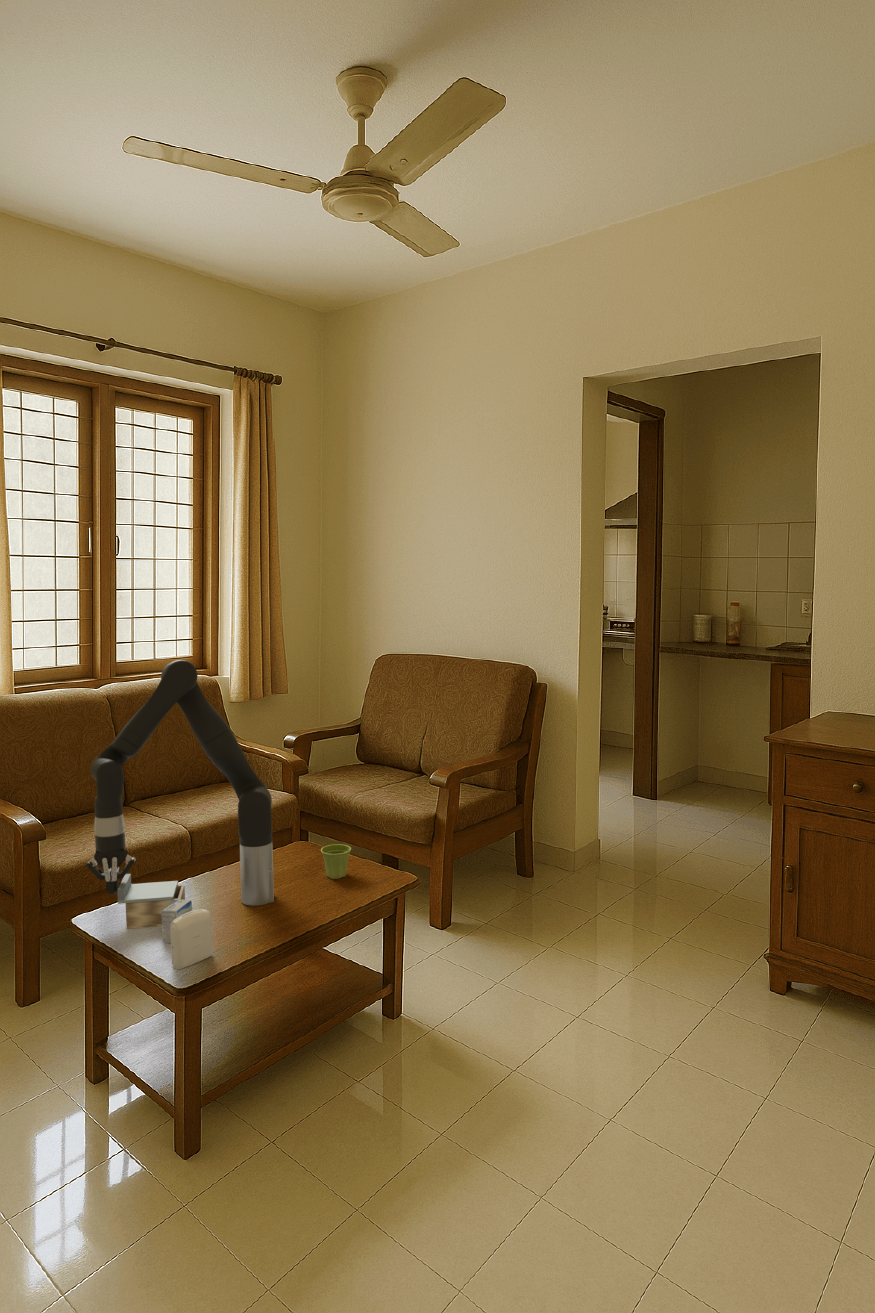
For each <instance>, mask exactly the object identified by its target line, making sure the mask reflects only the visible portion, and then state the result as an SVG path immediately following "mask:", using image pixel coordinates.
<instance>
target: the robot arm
mask: <svg viewBox="0 0 875 1313" xmlns="http://www.w3.org/2000/svg"><path fill="white" fill-rule="evenodd" d="M160 675H161V676H160V679H161V680H160V681H159V682H158V685H157V686H156V688H155V689H154V692H153V693H152V694H151V696H150V697H149V698H148V699H147V701H146V702H145V703H144V704H143V705H142V706H141V707H140V708H139V709H138V711H137V712H136V713H135V714H134V715H133V716H132V717H131V718H130V719H129V721H127V723H126V724H125V725H124V727H123V728H122V729H121V731H120V732H119V733H118V735H116V737H115V739H114V740H113V741H112V742H111V743H110V744H109V745H108V746H106V747H105V749H103V750H102V751H101V753H99V755H98V756H97V757H95V760H94V761H93V762H92V764H91V766H90V775H91V776H92V779H94V781H96V796H95V797H94V822H93V823H94V828H93V832H94V845H95V853H94V855H93V857H92V858H91V859H89V860H88V861H87V863H86V864H85V866H86V868H87V869H89V871H90V872H91V873H92V874H93V875H94V877H96V878H97V879H98V880H99V881H105V884H106V892H107V894H109V895H117V894H116V893H117V890H118V888H119V886H120V884H119V880H121V879H123V878H124V876H125V874H128V872H129V871H130V869H131V868H132V866H133V865H134V864H135V862H136V860H137V857H135V856H131V855H130V854H129V853H128V850H127V849H126V848H127V846H126V830H125V817H124V808H123V807H124V805H123V791H124V781H125V776H124V775H125V774H124V769H123V765H125V763H126V762H127V761H128V760H129V759H130V758H134V757H135V756H136V755H137V754H138V753H139V752H140V750H141V749H142V748H143V747H144V745H145V744H146V743H147V742H148V740H149V739H150V737H151V736H152V735H153V733H154V732H155V730H156V729H157V727H158V726H159V725H160V723H161V722H162V720H163V719H164V717H166V715H167V714H168V713H169V712H170V710H171V709H172V708H173V707H174V706H175V705H176V704H177V705H178V707H179V708H180V710H181V711H182V712H183V714H184V716H185V718H186V720H187V722H188V724H189V726H190V728H191V731H192V732H193V734H194V735H195V738H196V740H197V742H198V743H199V745H200V747H201V748H202V750H203V751H204V753H205V754H206V756H207V757H208V759H209V760H210V762H212V764H213V765H214V766H215V767H216V768H217V769H218V770H219V771H220V772H221V773H222V774H223V775H224V776H225V778H226V779H227V780H228V782H229V783H230V784H231V786H232V788H233V790H234V792H235V795H236V796H237V799H238V804H237V818H238V819H237V822H238V823H237V824H238V826H237V827H238V838H239V864H240V867H239V868H240V870H239V871H240V897H241V898H240V899H241V901H240V902H241V903H242V904H244V905H246V906H252V907H253V906H255V907H256V906H262V905H263V906H264V905H267V904H270V903H274V902H275V894H274V888H275V887H274V860H273V859H274V858H273V856H274V855H273V854H274V853H273V827H272V826H273V825H272V795H271V792H270V791H269V790H268V788H267V787H266V786H265V784H264V783H263V782H262V780H261V779H260V778H259V776H258V775H257V774H256V772H255V771H254V770H253V768H252V767H251V765H250V764H249V762H248V759H247V757H246V755H245V753H244V751H243V749H242V747H241V745H240V743H239V742H238V740H237V737H236V736H235V735H234V732H233V731H232V730H231V728H230V726H229V725H228V723H227V722H226V721H225V720H224V718H223V717H222V716H221V714H220V713H219V712H218V711H217V710H216V709H215V708H214V707H213V705H212V704H210V702H209V701H208V699H207V698H206V697H205V695H204V693H203V690H202V689H201V687H200V685H199V683H198V671H197V668H196V666H194V664H193V663H191V662H190V661H188V660H184V659H178V660H177V659H176V660H173V661H172V662H169V663H168V664H165V666H164V667H163V669H162V671H161V674H160ZM124 862H125V864H126V865H125V866H124V868H123V869H122V870H121V871H119V870H120V867H121V865H122V864H123V863H124ZM98 865H99V866H98ZM100 867H101V868H102V869H103V870H102V869H101V868H100Z"/></svg>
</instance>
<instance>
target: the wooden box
mask: <svg viewBox="0 0 875 1313" xmlns="http://www.w3.org/2000/svg"><path fill="white" fill-rule="evenodd" d="M185 887H186V886H185V884H178V885H177V888H176V892H175V895H174V898H173V900H160V901H148V902H135V903H125V921H126V923H125V924H126V925H125V926H126V930H130V929H141V928H142V929H143V928H153V927H162V914H161V911H162V910H164V909H165V908H166V907H168V906H169V905H171V904H172V903H173V902H175V901H176V900H180V899H181V900H186V894H185V893H186V890H185Z"/></svg>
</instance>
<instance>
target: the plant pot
mask: <svg viewBox="0 0 875 1313" xmlns="http://www.w3.org/2000/svg"><path fill="white" fill-rule="evenodd" d="M351 850H352V847H351V846H349V845H347V844H340V843H339V844H338V843H337V844H329V845H326V846H323V847H321V849H320V852H321V854H322V857H323V862H324V867H325V874H326V877H327V878H329V879H332V880H339V879H341V878H345V877H346V876H347V872H348V862H349V856H350V853H351V852H352V851H351Z"/></svg>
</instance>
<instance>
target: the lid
mask: <svg viewBox="0 0 875 1313" xmlns="http://www.w3.org/2000/svg"><path fill="white" fill-rule="evenodd" d="M177 885H179V881H178V880H171V881H169V880H168V881H157V882H156V881H155V882H142V883H141V882H140V883H132V874H131V873H126V874H125V876H124V877H123V878H122V880H121V882H120V884H119V888H118V890H117V892H116V893H117V904H120V905H121V904H126V903H135V902H148V901H160V900H173V898H174V895H175V892H176V888H177Z"/></svg>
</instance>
